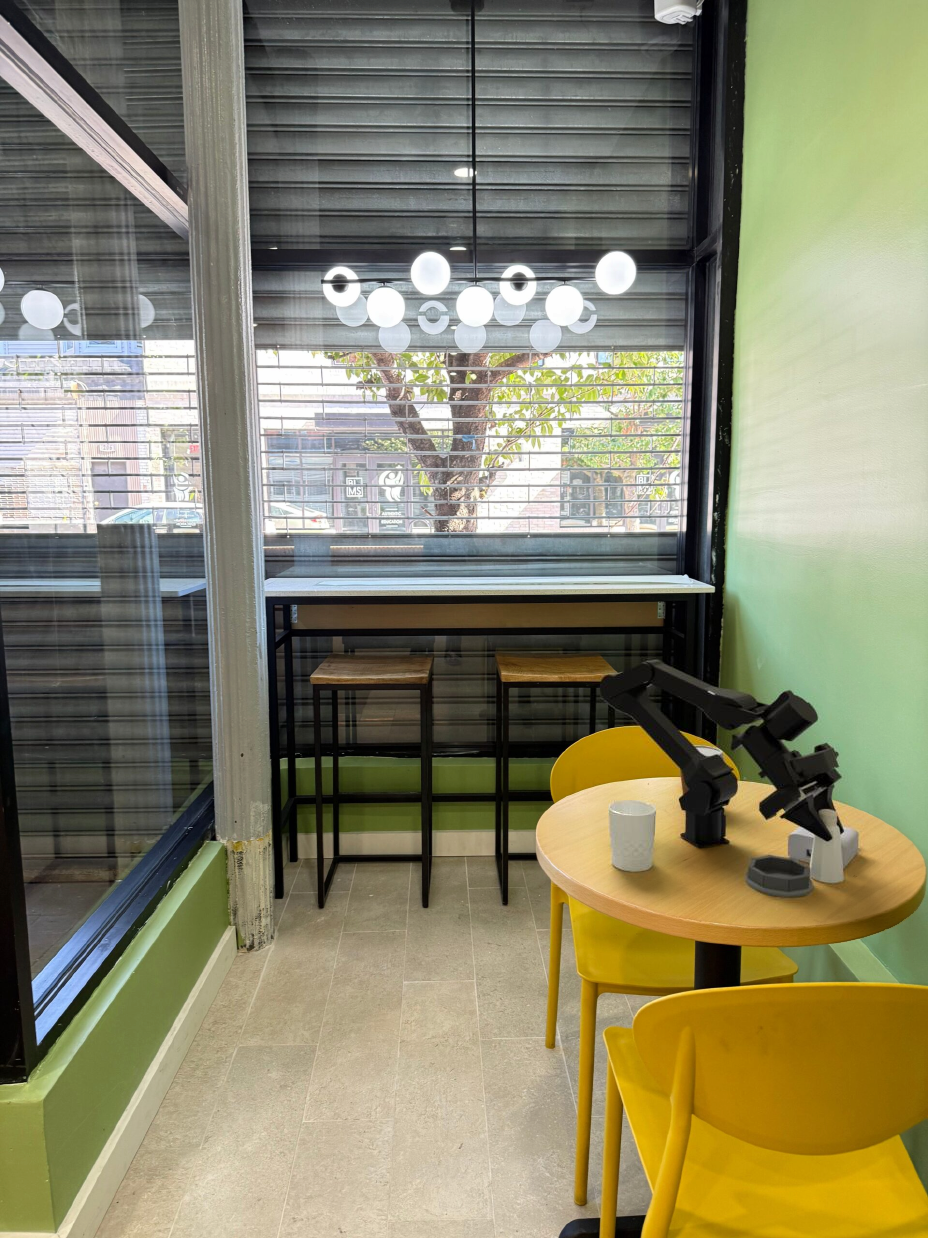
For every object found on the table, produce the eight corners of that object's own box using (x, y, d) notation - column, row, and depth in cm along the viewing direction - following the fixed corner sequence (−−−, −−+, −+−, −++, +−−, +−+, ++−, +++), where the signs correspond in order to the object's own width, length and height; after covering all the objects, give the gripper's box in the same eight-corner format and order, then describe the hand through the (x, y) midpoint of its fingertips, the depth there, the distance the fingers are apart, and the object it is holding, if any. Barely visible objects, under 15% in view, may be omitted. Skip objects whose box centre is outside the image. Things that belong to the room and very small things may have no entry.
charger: (866, 845, 144) (844, 872, 133) (813, 834, 150) (787, 858, 139) (867, 819, 144) (845, 844, 133) (814, 809, 150) (788, 832, 138)
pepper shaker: (848, 876, 131) (851, 810, 130) (838, 886, 127) (840, 819, 126) (814, 867, 134) (816, 803, 133) (803, 877, 130) (805, 812, 129)
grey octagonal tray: (774, 901, 122) (774, 884, 122) (732, 876, 131) (733, 859, 131) (826, 892, 125) (827, 874, 125) (783, 867, 135) (783, 851, 134)
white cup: (626, 877, 132) (626, 818, 131) (599, 860, 139) (599, 804, 138) (665, 868, 135) (665, 811, 134) (637, 852, 142) (637, 797, 141)
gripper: (779, 739, 125) (848, 826, 118) (831, 720, 137) (897, 797, 130) (732, 778, 132) (795, 862, 125) (786, 756, 144) (846, 832, 137)
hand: (836, 837), depth 129 cm, fingers closed on pepper shaker, 4 cm apart
